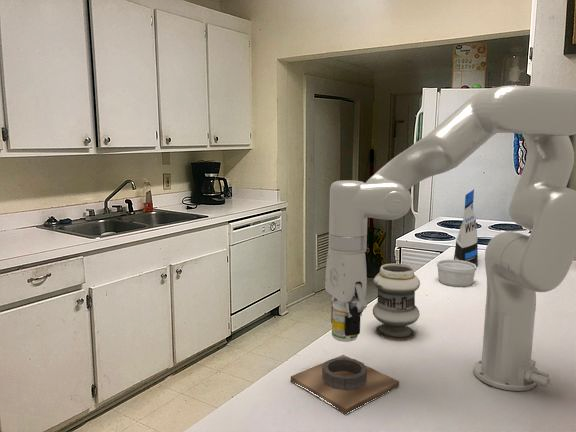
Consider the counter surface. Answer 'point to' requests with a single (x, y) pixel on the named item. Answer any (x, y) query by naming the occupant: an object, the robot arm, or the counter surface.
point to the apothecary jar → (396, 301)
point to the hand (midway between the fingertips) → (345, 328)
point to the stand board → (349, 395)
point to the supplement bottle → (340, 322)
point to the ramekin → (456, 272)
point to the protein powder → (467, 234)
